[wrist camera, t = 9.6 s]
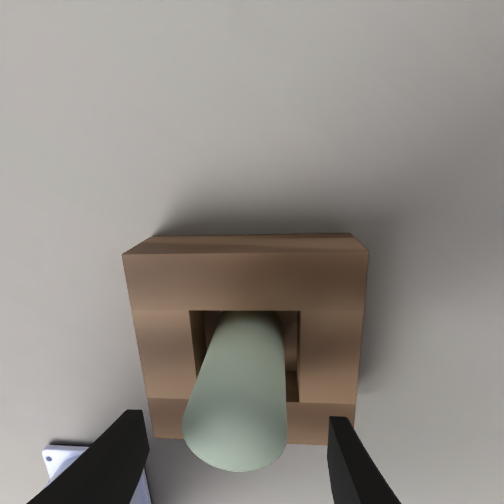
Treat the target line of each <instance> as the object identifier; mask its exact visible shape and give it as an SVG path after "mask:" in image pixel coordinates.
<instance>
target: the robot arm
mask: <svg viewBox="0 0 504 504" xmlns="http://www.w3.org/2000/svg"><path fill="white" fill-rule="evenodd" d="M149 450H150V449H149V444H148V439H147V433H146V428H145V423H144V417H143V412H142V410H126V411H125V412H124V413H123V414H122V415H121V416H120V417H119V418H118V419H117V420H116V421H115V422H114V423H113V424H112V425H111V426H110V427H109V428H108V429H107V430H106V431H105V432H104V433H103V434H102V435H101V436H100V437H99V438H98V439H97V440H96V441H95V442H94V443H93V444H92V445H91V446H90V447H82V446H60V445H47V446H45V447H44V449H43V450H42V455H43V458H44V461H45V464H46V467H47V470H48V473H49V476H50V480H49V482H48V483H47V485H46V486H45V487H44V489H43V490H42V491H41V492H40V493H39V494H38V495H36V496H35V497H34V498H33V499H32V500H30V501H29V502H28V503H27V504H151V500H150V495H149V490H148V485H147V480H146V475H145V470H144V466H145V463H146V459H147V456H148V453H149ZM327 461H328V468H329V475H330V482H331V489H332V494H333V499H334V503H335V504H401V502H400V501H399V500H398V498H397V497H396V495H395V494H394V493H393V491H392V490H391V488H390V487H389V485H388V484H387V482H386V481H385V479H384V478H383V476H382V475H381V473H380V472H379V470H378V469H377V467H376V465H375V464H374V462H373V461H372V459H371V458H370V456H369V454H368V453H367V451H366V449H365V448H364V446H363V444H362V443H361V441H360V439H359V437H358V436H357V434H356V432H355V430H354V428H353V426H352V424H351V422H350V420H349V419H348V418H347V417H344V416H329V430H328V449H327Z"/></svg>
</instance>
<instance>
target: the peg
mask: <svg viewBox="0 0 504 504" xmlns="http://www.w3.org/2000/svg"><path fill="white" fill-rule="evenodd" d="M182 433H183V437H184V439H185V442H186V443H187V445H188V447H189V448H190V449H191V451H192V452H193V453H194V454H195V455H196V456H197V457H199V458H200V459H201V460H203V461H204V462H206V463H207V464H209V465H211V466H214V467H216V468H219V469H222V470H226V471H232V472H248V471H254V470H258V469H261V468H264V467H266V466H268V465H269V464H271V463H272V462H274V461H275V460H276V459H277V458H278V457H279V456H280V455H281V453H282V452H283V450H284V448H285V446H286V442H287V411H286V384H285V357H284V331H283V324H282V321H281V319H280V317H279V315H278V314H277V313H276V312H275V311H224V312H223V313H222V315H221V316H220V319H219V321H218V324H217V327H216V329H215V332H214V335H213V337H212V340H211V343H210V345H209V348H208V351H207V353H206V356H205V359H204V361H203V364H202V367H201V369H200V372H199V375H198V377H197V380H196V383H195V385H194V388H193V391H192V393H191V396H190V399H189V401H188V404H187V407H186V410H185V412H184V415H183V419H182Z"/></svg>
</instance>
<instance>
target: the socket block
mask: <svg viewBox="0 0 504 504" xmlns="http://www.w3.org/2000/svg"><path fill="white" fill-rule="evenodd" d="M368 258H369V251H368V250H367V249H366V248H365V247H364V246H363V245H362V244H361V243H360V242H359V241H358V240H357V239H356V238H355V237H354V236H353V235H351V234H350V233H322V234H266V235H210V236H154V237H150V238H148V239H146V240H145V241H143V242H141V243H140V244H138V245H136V246H135V247H133V248H131V249H130V250H128V251H127V252H125V253H123V254H122V260H123V265H124V271H125V276H126V282H127V288H128V293H129V299H130V304H131V310H132V315H133V321H134V327H135V332H136V338H137V343H138V349H139V354H140V360H141V365H142V371H143V377H144V382H145V388H146V393H147V399H148V404H149V410H150V415H151V421H152V427H153V432H154V438H168V439H184V437H183V433H182V419H183V415H184V412H185V410H186V407H187V404H188V401H189V399H190V396H191V393H192V391H193V388H194V385H195V383H196V380H197V377H198V375H199V372H200V369H201V367H202V364H203V361H204V359H205V356H206V353H207V351H208V348H209V345H210V343H211V340H212V337H213V335H214V332H215V329H216V327H217V324H218V321H219V319H220V316H221V315H222V313H223V312H224V311H275V312H276V313H277V314H278V315H279V317H280V319H281V321H282V324H283V331H284V357H285V384H286V411H287V442H286V443H287V444H311V445H328V430H329V416H344V417H347V418H348V419H349V420H350V422H351V424H352V426H353V428H354V419H355V407H356V396H357V384H358V373H359V362H360V350H361V339H362V327H363V316H364V304H365V293H366V281H367V270H368Z"/></svg>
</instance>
